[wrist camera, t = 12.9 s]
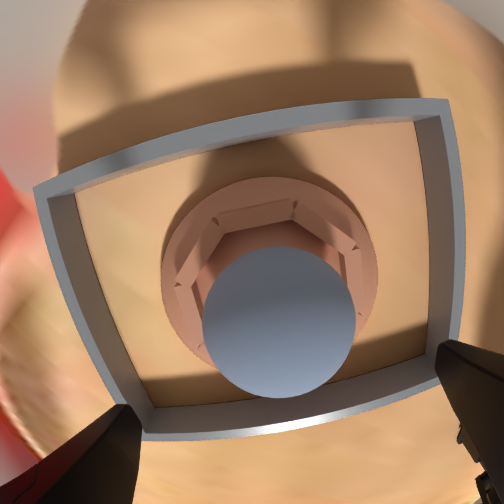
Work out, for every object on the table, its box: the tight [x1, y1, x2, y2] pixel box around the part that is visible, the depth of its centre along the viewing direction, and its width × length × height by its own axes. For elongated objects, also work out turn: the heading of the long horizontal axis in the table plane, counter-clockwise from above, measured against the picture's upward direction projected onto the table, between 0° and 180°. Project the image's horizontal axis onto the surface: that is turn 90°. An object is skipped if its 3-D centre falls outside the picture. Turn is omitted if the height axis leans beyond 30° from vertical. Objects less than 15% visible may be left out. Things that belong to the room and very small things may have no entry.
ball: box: [202, 246, 356, 398], centre depth 11 cm, size 6×6×6 cm
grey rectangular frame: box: [33, 98, 466, 441], centre depth 14 cm, size 20×16×2 cm
